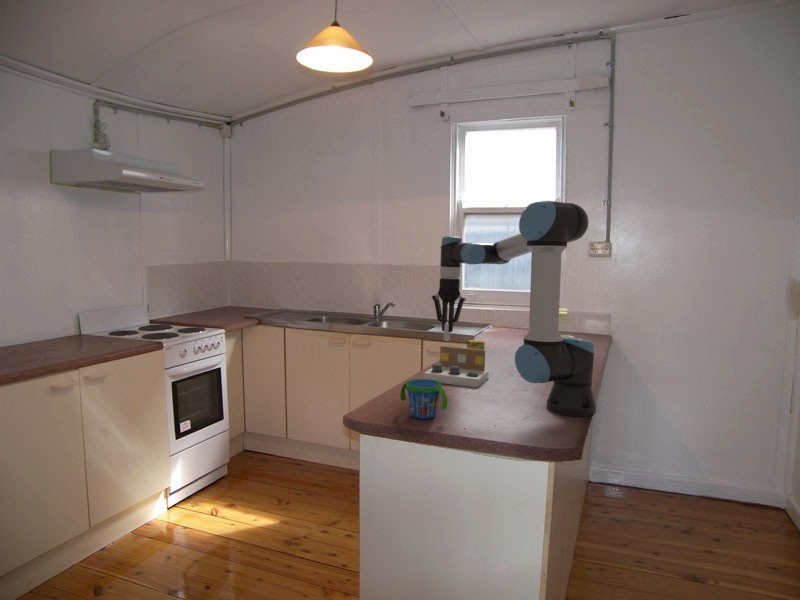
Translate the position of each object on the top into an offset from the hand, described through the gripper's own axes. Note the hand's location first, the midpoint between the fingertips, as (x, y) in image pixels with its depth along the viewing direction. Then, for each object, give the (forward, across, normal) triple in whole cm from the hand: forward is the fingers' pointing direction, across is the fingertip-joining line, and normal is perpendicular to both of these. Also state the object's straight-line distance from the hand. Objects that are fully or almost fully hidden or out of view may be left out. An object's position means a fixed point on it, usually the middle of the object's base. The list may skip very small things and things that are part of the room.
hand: (446, 340), depth 209 cm
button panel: (+15, -4, -2) cm, 16 cm away
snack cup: (+15, -9, +47) cm, 50 cm away
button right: (+15, -11, 0) cm, 18 cm away
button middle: (+13, -4, +1) cm, 14 cm away
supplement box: (+16, -3, -29) cm, 34 cm away
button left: (+13, +3, +1) cm, 14 cm away
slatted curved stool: (+16, -24, -107) cm, 111 cm away
